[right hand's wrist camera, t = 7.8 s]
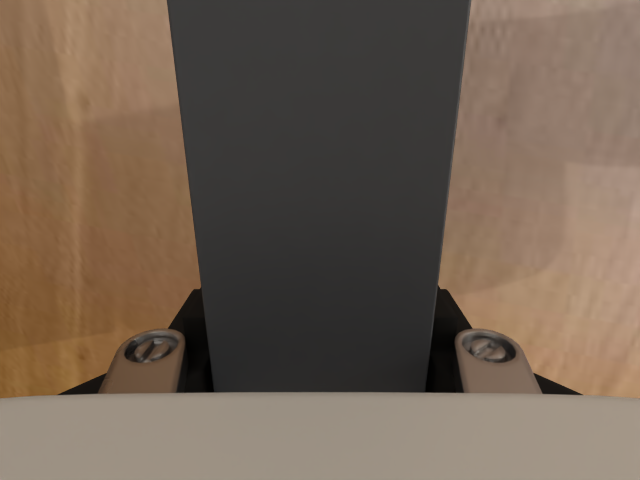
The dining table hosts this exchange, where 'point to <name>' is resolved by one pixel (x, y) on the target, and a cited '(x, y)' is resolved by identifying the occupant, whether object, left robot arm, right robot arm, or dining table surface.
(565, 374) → the dining table surface
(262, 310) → the post
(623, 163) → the dining table surface
